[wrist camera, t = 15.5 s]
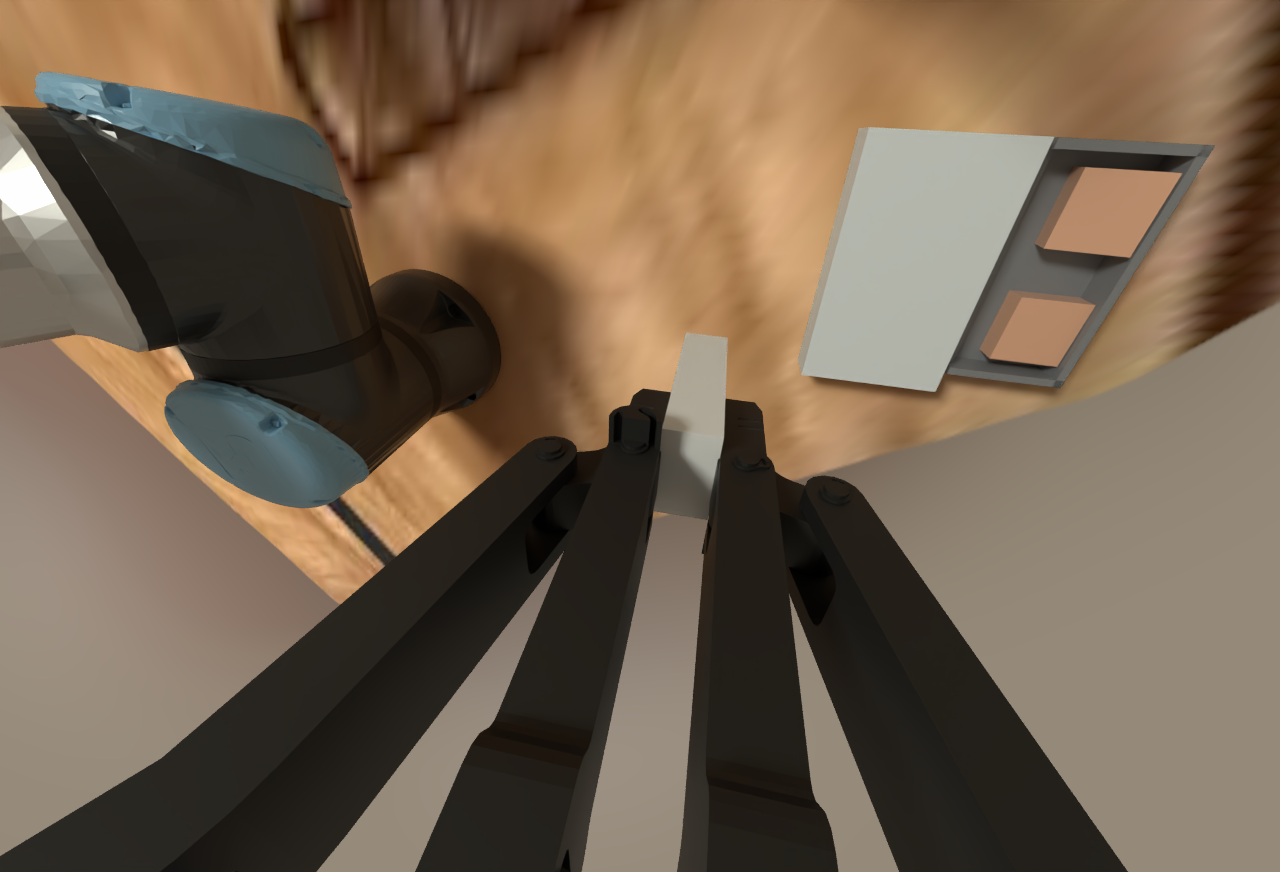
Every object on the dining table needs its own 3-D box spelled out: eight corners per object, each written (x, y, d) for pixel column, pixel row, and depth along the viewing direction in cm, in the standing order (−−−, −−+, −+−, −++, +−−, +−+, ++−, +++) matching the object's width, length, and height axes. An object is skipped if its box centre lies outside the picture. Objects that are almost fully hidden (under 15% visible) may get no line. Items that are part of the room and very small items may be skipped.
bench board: (798, 358, 43) (801, 374, 40) (858, 128, 32) (869, 127, 30) (922, 374, 41) (935, 392, 38) (1026, 137, 31) (1054, 136, 28)
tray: (935, 359, 40) (947, 374, 38) (1034, 137, 31) (1059, 137, 28) (1040, 372, 39) (1060, 388, 36) (1177, 144, 30) (1215, 145, 27)
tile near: (1129, 257, 31) (1116, 252, 32) (1182, 173, 28) (1164, 171, 30) (1043, 248, 32) (1034, 243, 34) (1085, 167, 29) (1073, 166, 31)
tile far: (1057, 366, 36) (1043, 356, 38) (1095, 305, 33) (1079, 297, 35) (989, 358, 37) (979, 349, 38) (1022, 297, 34) (1009, 290, 36)
